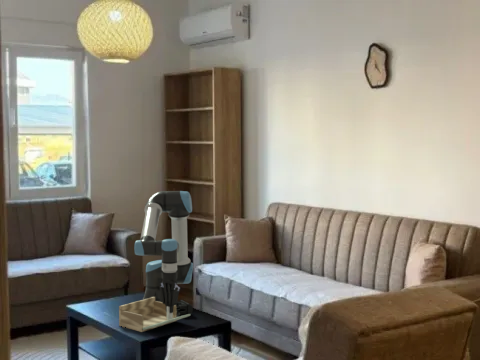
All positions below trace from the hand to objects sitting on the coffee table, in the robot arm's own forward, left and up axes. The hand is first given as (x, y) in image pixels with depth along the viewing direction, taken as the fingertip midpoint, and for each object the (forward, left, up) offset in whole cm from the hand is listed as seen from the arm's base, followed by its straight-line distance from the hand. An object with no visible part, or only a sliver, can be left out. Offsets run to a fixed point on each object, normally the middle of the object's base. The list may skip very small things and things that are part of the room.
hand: (169, 318), depth 320 cm
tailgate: (0, -7, -3) cm, 7 cm away
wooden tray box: (0, -15, -5) cm, 16 cm away
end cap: (-23, -13, -5) cm, 27 cm away
